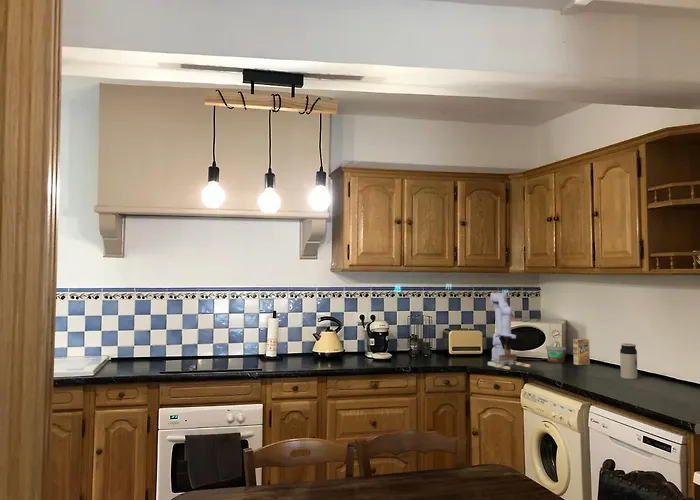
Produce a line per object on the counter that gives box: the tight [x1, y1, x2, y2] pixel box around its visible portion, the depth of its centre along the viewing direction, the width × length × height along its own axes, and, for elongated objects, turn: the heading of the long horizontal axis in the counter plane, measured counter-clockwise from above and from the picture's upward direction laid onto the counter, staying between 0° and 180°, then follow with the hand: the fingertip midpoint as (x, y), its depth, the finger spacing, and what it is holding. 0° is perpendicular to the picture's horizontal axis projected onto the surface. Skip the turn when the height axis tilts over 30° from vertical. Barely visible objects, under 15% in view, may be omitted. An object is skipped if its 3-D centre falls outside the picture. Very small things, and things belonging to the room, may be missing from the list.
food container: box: [545, 345, 567, 364], centre depth 351 cm, size 12×6×10 cm, turn 62°
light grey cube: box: [494, 358, 505, 366], centre depth 341 cm, size 4×4×4 cm
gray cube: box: [504, 360, 515, 366], centre depth 344 cm, size 4×4×4 cm
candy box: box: [572, 338, 591, 366], centre depth 343 cm, size 9×4×15 cm, turn 108°
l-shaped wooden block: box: [499, 345, 517, 361], centre depth 340 cm, size 2×12×9 cm, turn 118°
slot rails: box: [495, 361, 531, 370], centre depth 335 cm, size 11×17×2 cm, turn 118°
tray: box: [487, 360, 518, 368], centre depth 343 cm, size 7×17×2 cm, turn 118°
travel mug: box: [619, 342, 638, 380], centre depth 300 cm, size 8×8×18 cm
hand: (506, 349), depth 340 cm, fingers closed on l-shaped wooden block, 2 cm apart
